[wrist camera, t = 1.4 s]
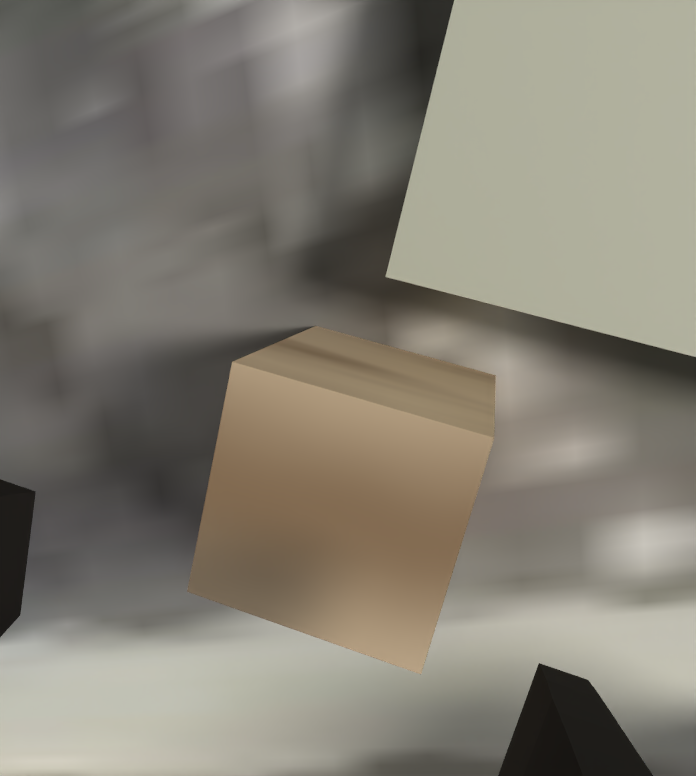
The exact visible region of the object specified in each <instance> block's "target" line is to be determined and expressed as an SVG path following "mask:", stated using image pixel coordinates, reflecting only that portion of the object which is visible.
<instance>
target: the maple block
mask: <svg viewBox="0 0 696 776" xmlns="http://www.w3.org/2000/svg"><path fill="white" fill-rule="evenodd" d="M495 376H496V375H492V374H488V373H485V372H481V371H477V370H474V369H470V368H466V367H463V366H459V365H456V364H452V363H448V362H445V361H441V360H437V359H434V358H430V357H427V356H423V355H419V354H416V353H412V352H408V351H405V350H401V349H397V348H394V347H390V346H387V345H383V344H379V343H376V342H372V341H368V340H365V339H361V338H358V337H354V336H350V335H347V334H343V333H339V332H336V331H332V330H328V329H325V328H321V327H318V326H314V327H312V328H310V329H307V330H305V331H303V332H300V333H298V334H296V335H293V336H291V337H289V338H286V339H284V340H282V341H279V342H277V343H275V344H272V345H270V346H268V347H265V348H263V349H261V350H258V351H256V352H254V353H251V354H249V355H247V356H244V357H242V358H240V359H237V360H235V361H233V362H232V366H231V371H230V376H229V381H228V386H227V391H226V396H225V401H224V406H223V412H222V417H221V422H220V427H219V432H218V437H217V442H216V447H215V452H214V457H213V463H212V468H211V473H210V478H209V483H208V488H207V493H206V498H205V503H204V509H203V514H202V519H201V524H200V529H199V534H198V539H197V544H196V549H195V554H194V560H193V565H192V570H191V575H190V580H189V585H188V590H187V592H190V593H192V594H195V595H198V596H201V597H204V598H207V599H209V600H212V601H215V602H218V603H221V604H224V605H226V606H229V607H232V608H235V609H238V610H241V611H243V612H246V613H249V614H252V615H255V616H257V617H260V618H263V619H266V620H269V621H272V622H274V623H277V624H280V625H283V626H286V627H289V628H291V629H294V630H297V631H300V632H303V633H306V634H308V635H311V636H314V637H317V638H320V639H323V640H325V641H328V642H331V643H334V644H337V645H339V646H342V647H345V648H348V649H351V650H354V651H356V652H359V653H362V654H365V655H368V656H371V657H373V658H376V659H379V660H382V661H385V662H388V663H390V664H393V665H396V666H399V667H402V668H405V669H407V670H410V671H413V672H416V673H419V674H421V673H422V669H423V666H424V663H425V660H426V657H427V653H428V650H429V647H430V644H431V640H432V637H433V634H434V631H435V627H436V624H437V621H438V618H439V615H440V611H441V608H442V605H443V602H444V598H445V595H446V592H447V589H448V585H449V582H450V579H451V576H452V573H453V569H454V566H455V563H456V560H457V556H458V553H459V550H460V547H461V543H462V540H463V537H464V534H465V531H466V527H467V524H468V521H469V518H470V514H471V511H472V508H473V505H474V501H475V498H476V495H477V492H478V489H479V485H480V482H481V479H482V476H483V472H484V469H485V466H486V463H487V459H488V456H489V453H490V450H491V447H492V443H493V440H494V423H495Z"/></svg>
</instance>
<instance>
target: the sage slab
mask: <svg viewBox="0 0 696 776" xmlns="http://www.w3.org/2000/svg"><path fill="white" fill-rule="evenodd" d="M386 277H388V278H392V279H396V280H400V281H403V282H407V283H411V284H415V285H419V286H423V287H427V288H431V289H434V290H438V291H442V292H446V293H450V294H454V295H458V296H461V297H465V298H469V299H473V300H477V301H481V302H485V303H489V304H492V305H496V306H500V307H504V308H508V309H512V310H516V311H520V312H523V313H527V314H531V315H535V316H539V317H543V318H547V319H550V320H554V321H558V322H562V323H566V324H570V325H574V326H578V327H581V328H585V329H589V330H593V331H597V332H601V333H605V334H608V335H612V336H616V337H620V338H624V339H628V340H632V341H636V342H639V343H643V344H647V345H651V346H655V347H659V348H663V349H667V350H670V351H674V352H678V353H682V354H686V355H690V356H694V357H696V0H454V3H453V7H452V11H451V15H450V20H449V24H448V28H447V32H446V36H445V40H444V44H443V48H442V52H441V56H440V60H439V64H438V68H437V72H436V76H435V80H434V84H433V88H432V92H431V96H430V100H429V104H428V108H427V112H426V116H425V120H424V124H423V128H422V132H421V136H420V140H419V144H418V148H417V152H416V156H415V160H414V164H413V168H412V172H411V176H410V180H409V184H408V188H407V192H406V196H405V201H404V205H403V209H402V213H401V217H400V221H399V225H398V229H397V233H396V237H395V241H394V245H393V249H392V253H391V257H390V261H389V265H388V269H387V273H386Z"/></svg>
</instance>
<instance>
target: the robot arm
mask: <svg viewBox="0 0 696 776" xmlns="http://www.w3.org/2000/svg"><path fill="white" fill-rule="evenodd" d="M34 500H35V491H32V490H29V489H27V488H24V487H21V486H18V485H15V484H12V483H9V482H6V481H3V480H0V637H1V636H2V635H3V633H4V632H5V631H6V630H7V629H8V628H9V627H10V626H11V625H12V624H13V622H14V621H15V620H16V619H17V618H18V617H19V616H20V612H21V604H22V596H23V588H24V580H25V572H26V564H27V556H28V548H29V540H30V532H31V524H32V516H33V508H34ZM498 776H653V775H652V773H651V772H650V771H649V769H648V768H647V766H646V765H645V763H644V762H643V760H642V759H641V757H640V756H639V754H638V753H637V751H636V750H635V748H634V747H633V745H632V744H631V742H630V741H629V739H628V738H627V736H626V735H625V733H624V732H623V730H622V729H621V727H620V726H619V724H618V723H617V721H616V720H615V718H614V717H613V715H612V714H611V712H610V711H609V709H608V708H607V706H606V705H605V703H604V702H603V700H602V699H601V697H600V696H599V694H598V693H597V691H596V690H595V689H594V687H593V686H592V685H591V683H590V682H589V681H588V680H586V679H584V678H581V677H578V676H575V675H572V674H569V673H566V672H563V671H560V670H557V669H554V668H551V667H548V666H545V665H542V664H540V663H539V665H538V668H537V670H536V673H535V676H534V679H533V681H532V684H531V687H530V690H529V692H528V695H527V698H526V701H525V703H524V706H523V709H522V712H521V714H520V717H519V720H518V723H517V726H516V728H515V731H514V734H513V737H512V739H511V742H510V745H509V748H508V750H507V753H506V756H505V759H504V761H503V764H502V767H501V770H500V772H499V775H498Z"/></svg>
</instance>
